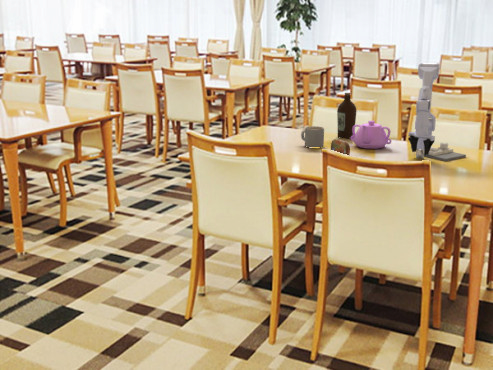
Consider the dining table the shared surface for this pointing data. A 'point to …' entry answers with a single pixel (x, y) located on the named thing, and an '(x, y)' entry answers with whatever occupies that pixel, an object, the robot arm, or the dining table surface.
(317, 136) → the coffee mug
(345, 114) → the olive oil
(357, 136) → the teapot
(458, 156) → the board
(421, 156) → the pin
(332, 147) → the mottled brown rounded slab
